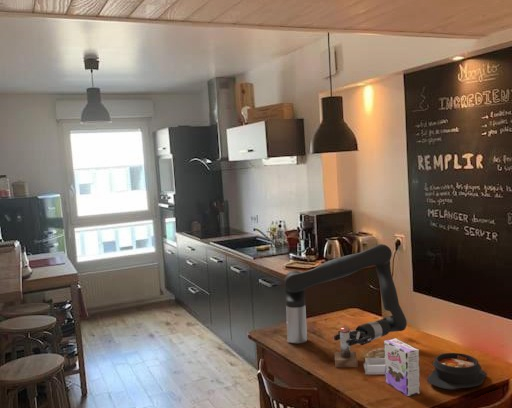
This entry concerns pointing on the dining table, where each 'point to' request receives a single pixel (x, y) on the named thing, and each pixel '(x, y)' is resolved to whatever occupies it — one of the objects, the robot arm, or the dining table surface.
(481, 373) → the casserole
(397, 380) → the candy box
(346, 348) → the canister
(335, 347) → the dining table surface
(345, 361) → the mount
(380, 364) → the socket
